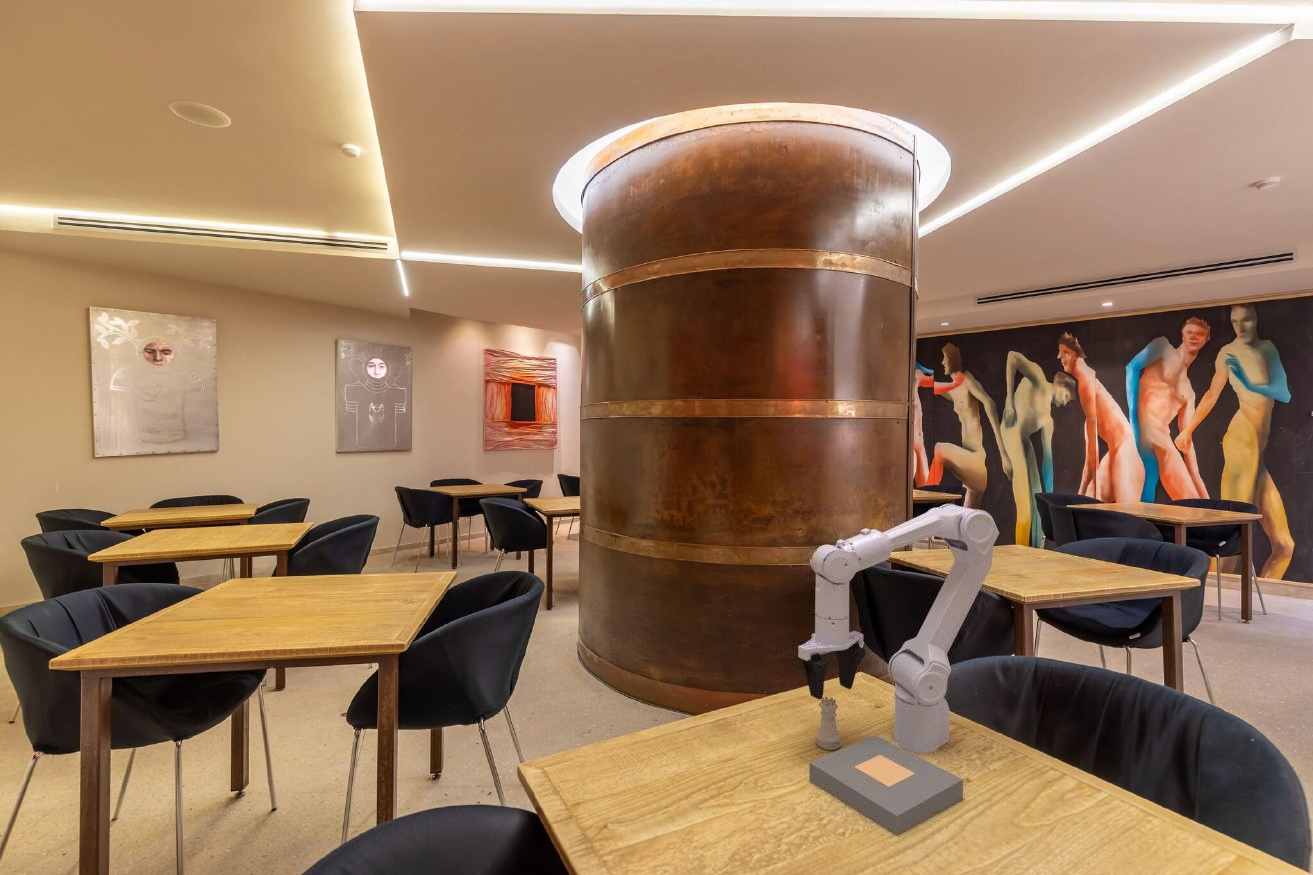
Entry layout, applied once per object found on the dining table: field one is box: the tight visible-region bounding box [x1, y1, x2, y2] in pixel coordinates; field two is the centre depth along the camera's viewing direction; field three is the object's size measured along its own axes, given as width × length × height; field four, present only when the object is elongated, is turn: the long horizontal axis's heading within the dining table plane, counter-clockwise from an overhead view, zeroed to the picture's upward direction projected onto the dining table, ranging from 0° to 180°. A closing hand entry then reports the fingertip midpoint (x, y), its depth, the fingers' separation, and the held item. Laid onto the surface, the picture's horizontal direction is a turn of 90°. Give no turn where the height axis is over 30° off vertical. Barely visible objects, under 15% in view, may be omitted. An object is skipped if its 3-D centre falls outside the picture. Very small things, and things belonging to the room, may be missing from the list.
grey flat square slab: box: [808, 734, 964, 836], centre depth 95 cm, size 16×16×3 cm
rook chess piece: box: [815, 696, 842, 751], centre depth 108 cm, size 4×4×8 cm
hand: (831, 691), depth 107 cm, fingers open, 7 cm apart
